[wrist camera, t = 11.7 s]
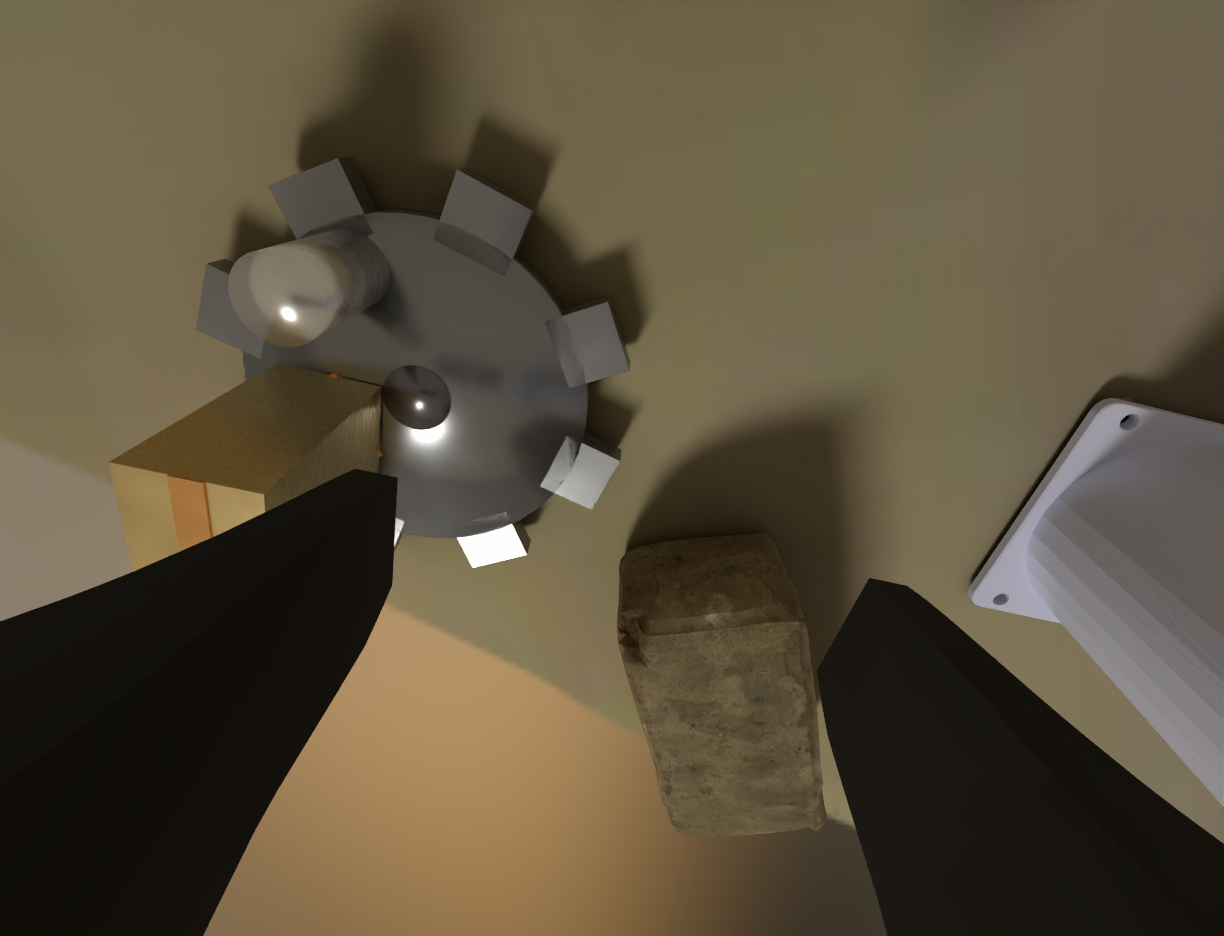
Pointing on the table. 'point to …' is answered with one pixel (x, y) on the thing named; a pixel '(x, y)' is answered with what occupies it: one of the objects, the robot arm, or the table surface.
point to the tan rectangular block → (243, 457)
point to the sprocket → (432, 348)
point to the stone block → (723, 684)
